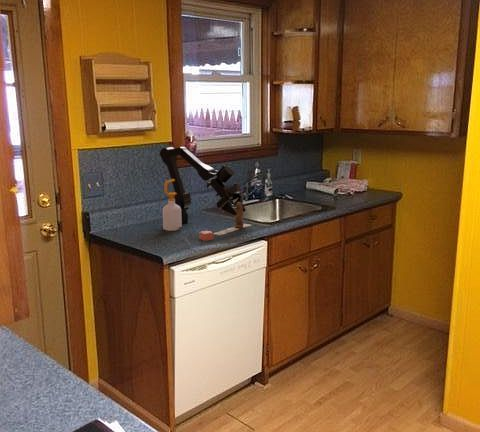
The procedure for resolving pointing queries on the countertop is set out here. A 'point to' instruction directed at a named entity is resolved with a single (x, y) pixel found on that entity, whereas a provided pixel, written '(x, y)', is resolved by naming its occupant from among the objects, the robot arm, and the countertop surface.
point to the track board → (229, 230)
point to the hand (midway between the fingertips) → (240, 213)
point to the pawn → (239, 216)
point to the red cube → (206, 235)
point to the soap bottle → (171, 212)
